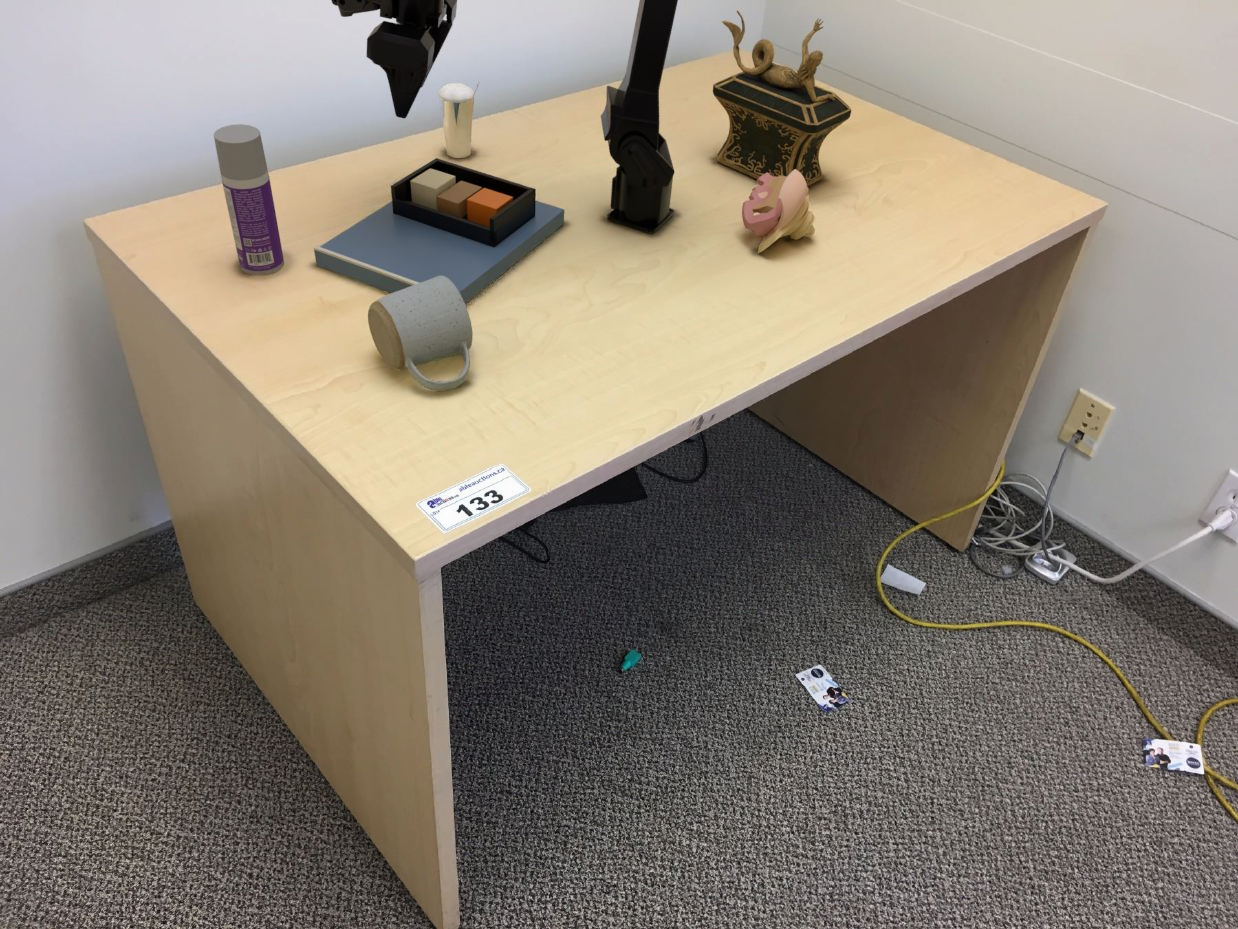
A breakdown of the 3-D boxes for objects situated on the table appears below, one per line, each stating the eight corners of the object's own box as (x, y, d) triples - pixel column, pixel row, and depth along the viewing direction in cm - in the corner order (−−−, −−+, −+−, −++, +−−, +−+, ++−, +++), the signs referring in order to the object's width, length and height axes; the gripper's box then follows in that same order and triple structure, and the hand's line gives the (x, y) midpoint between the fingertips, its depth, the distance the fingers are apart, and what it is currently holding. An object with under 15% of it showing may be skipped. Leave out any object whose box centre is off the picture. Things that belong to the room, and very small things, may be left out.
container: (292, 259, 112) (270, 129, 102) (268, 279, 108) (243, 147, 98) (256, 249, 113) (231, 120, 103) (231, 269, 109) (202, 137, 99)
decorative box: (839, 180, 136) (873, 31, 123) (798, 201, 131) (830, 48, 118) (724, 131, 146) (745, -12, 133) (682, 149, 140) (699, 1, 127)
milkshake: (475, 163, 132) (473, 88, 126) (436, 157, 133) (432, 82, 126) (485, 149, 136) (484, 75, 129) (448, 143, 136) (444, 70, 130)
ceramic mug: (366, 348, 100) (359, 282, 95) (439, 325, 104) (436, 261, 99) (416, 406, 94) (411, 340, 89) (491, 380, 98) (491, 314, 93)
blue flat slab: (564, 224, 122) (564, 206, 120) (451, 315, 106) (450, 296, 104) (441, 184, 127) (440, 167, 126) (316, 265, 111) (313, 247, 109)
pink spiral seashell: (802, 222, 128) (848, 197, 119) (770, 284, 125) (815, 263, 116) (748, 178, 125) (791, 149, 116) (714, 241, 122) (755, 216, 113)
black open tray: (535, 216, 119) (535, 188, 116) (494, 247, 113) (494, 219, 110) (437, 184, 123) (436, 157, 121) (392, 213, 117) (390, 185, 115)
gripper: (362, -86, 109) (357, 57, 119) (315, -41, 95) (314, 118, 105) (463, -63, 110) (450, 77, 120) (432, -14, 96) (420, 140, 106)
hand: (409, 101), depth 113 cm, fingers open, 9 cm apart
